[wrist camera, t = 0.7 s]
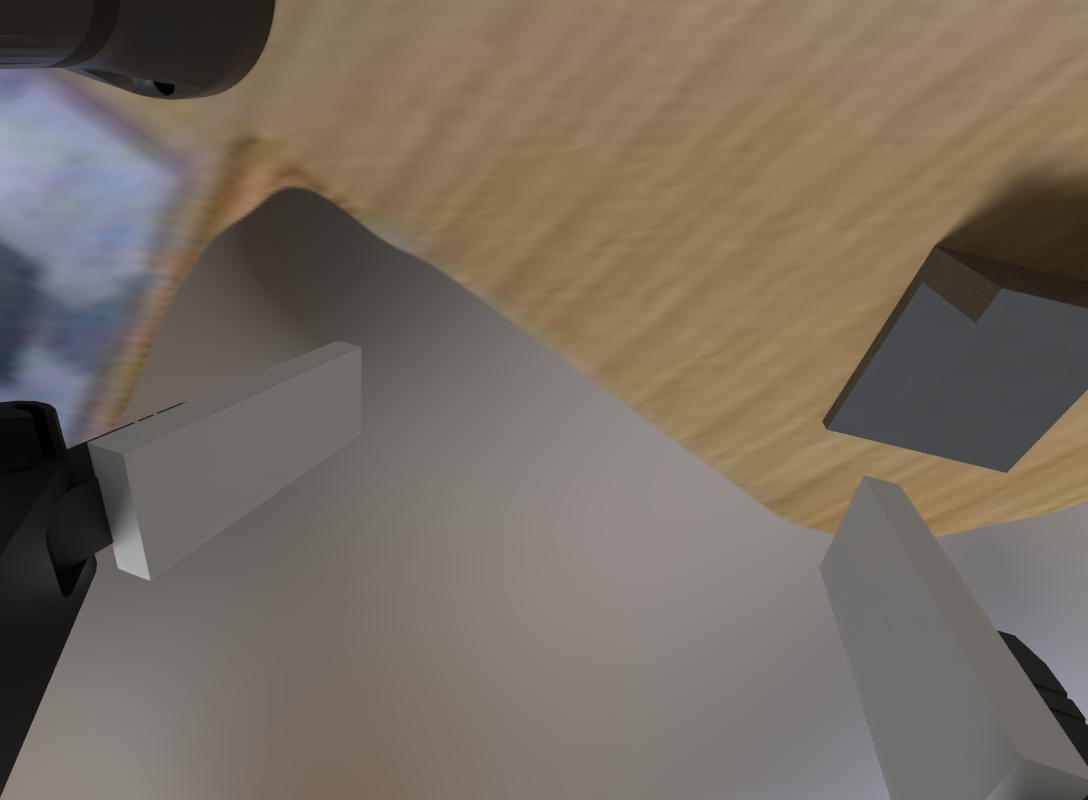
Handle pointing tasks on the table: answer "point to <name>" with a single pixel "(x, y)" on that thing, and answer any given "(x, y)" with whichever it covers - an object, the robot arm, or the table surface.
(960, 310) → the grey piece
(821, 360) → the table surface
